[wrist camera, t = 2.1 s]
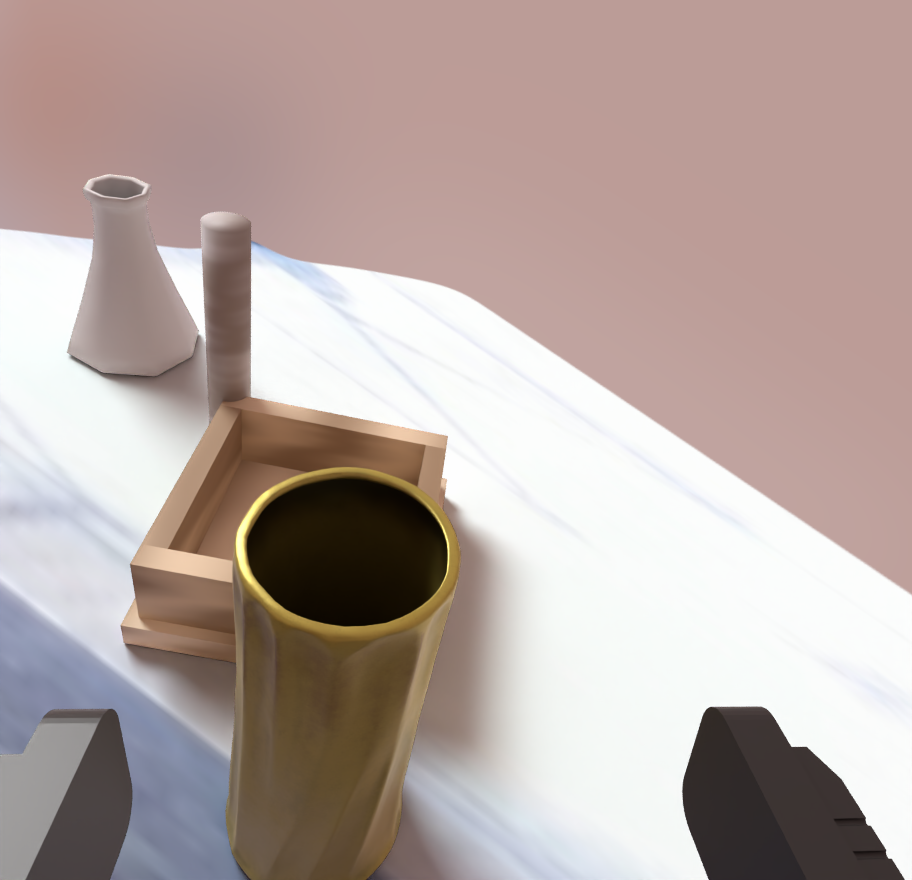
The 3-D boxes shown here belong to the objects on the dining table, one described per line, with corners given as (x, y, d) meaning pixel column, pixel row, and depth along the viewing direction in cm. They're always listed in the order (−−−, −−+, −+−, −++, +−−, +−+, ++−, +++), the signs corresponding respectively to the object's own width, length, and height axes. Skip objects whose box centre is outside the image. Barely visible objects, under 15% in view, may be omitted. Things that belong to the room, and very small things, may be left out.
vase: (191, 797, 25) (158, 518, 16) (331, 695, 29) (368, 424, 20) (295, 950, 22) (327, 716, 13) (434, 815, 26) (533, 562, 17)
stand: (111, 640, 29) (56, 376, 21) (218, 441, 39) (210, 208, 30) (415, 694, 30) (481, 459, 21) (444, 484, 39) (497, 268, 31)
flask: (218, 331, 47) (214, 181, 40) (163, 392, 41) (147, 229, 35) (112, 303, 47) (91, 149, 41) (43, 360, 41) (6, 192, 35)
